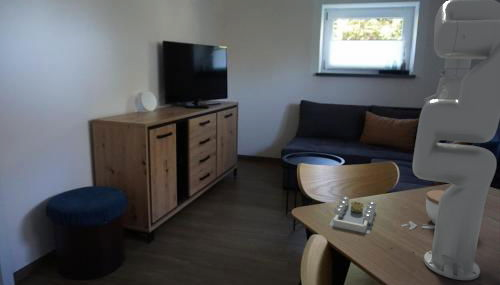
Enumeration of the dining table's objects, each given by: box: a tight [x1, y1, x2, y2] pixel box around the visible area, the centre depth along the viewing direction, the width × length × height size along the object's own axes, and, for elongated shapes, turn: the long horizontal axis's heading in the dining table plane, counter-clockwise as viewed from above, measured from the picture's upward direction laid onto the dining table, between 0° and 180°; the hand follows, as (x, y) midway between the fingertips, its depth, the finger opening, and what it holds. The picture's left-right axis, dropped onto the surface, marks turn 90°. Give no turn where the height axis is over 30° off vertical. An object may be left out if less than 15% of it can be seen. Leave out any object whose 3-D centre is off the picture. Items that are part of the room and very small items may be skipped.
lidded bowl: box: [425, 189, 445, 225], centre depth 117 cm, size 13×13×11 cm
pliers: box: [400, 220, 436, 231], centre depth 116 cm, size 10×2×15 cm
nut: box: [350, 200, 364, 214], centre depth 123 cm, size 4×4×3 cm
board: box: [328, 204, 377, 235], centre depth 118 cm, size 20×12×3 cm, turn 155°
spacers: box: [333, 196, 377, 226], centre depth 120 cm, size 14×12×3 cm
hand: (448, 124), depth 125 cm, fingers open, 9 cm apart
